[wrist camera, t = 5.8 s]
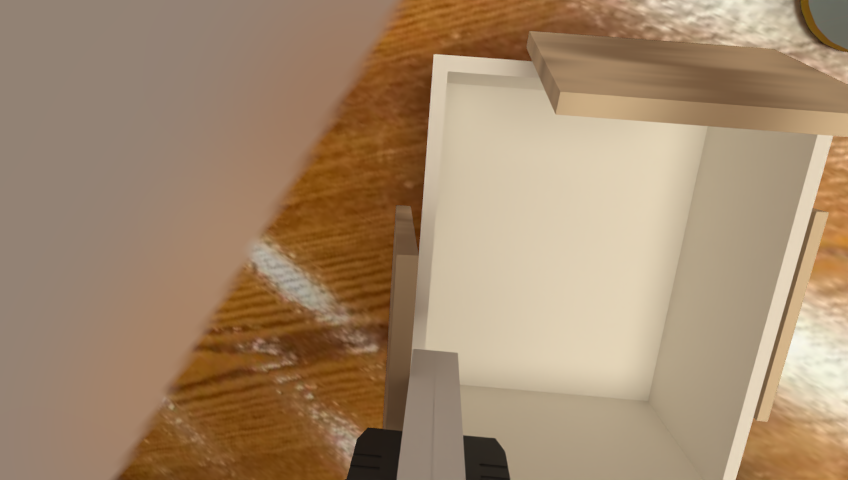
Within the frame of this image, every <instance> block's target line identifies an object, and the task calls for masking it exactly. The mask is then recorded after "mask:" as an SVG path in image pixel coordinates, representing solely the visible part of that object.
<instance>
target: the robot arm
mask: <svg viewBox="0 0 848 480" xmlns="http://www.w3.org/2000/svg"><path fill="white" fill-rule="evenodd" d="M345 480H510V475H509V469H508V464H507V458H506V453H505V451H504V449H503V448H502V446H501V445H500V444H499V442H498V441H497V440H496V438H488V437H477V436H466V435H463V428H462V411H461V395H460V379H459V363H458V353H455V352H444V351H433V350H422V349H413V353H412V361H411V369H410V377H409V385H408V393H407V401H406V409H405V417H404V425H403V431H398V430H387V429H377V428H367V429H366V430H365V431H364V432H363V433H362V435H361V436H360V437H359V438H358V439H357V442H356V446H355V449H354V454H353V457H352V461H351V465H350V469H349V472H348V476H347V479H345Z"/></svg>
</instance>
